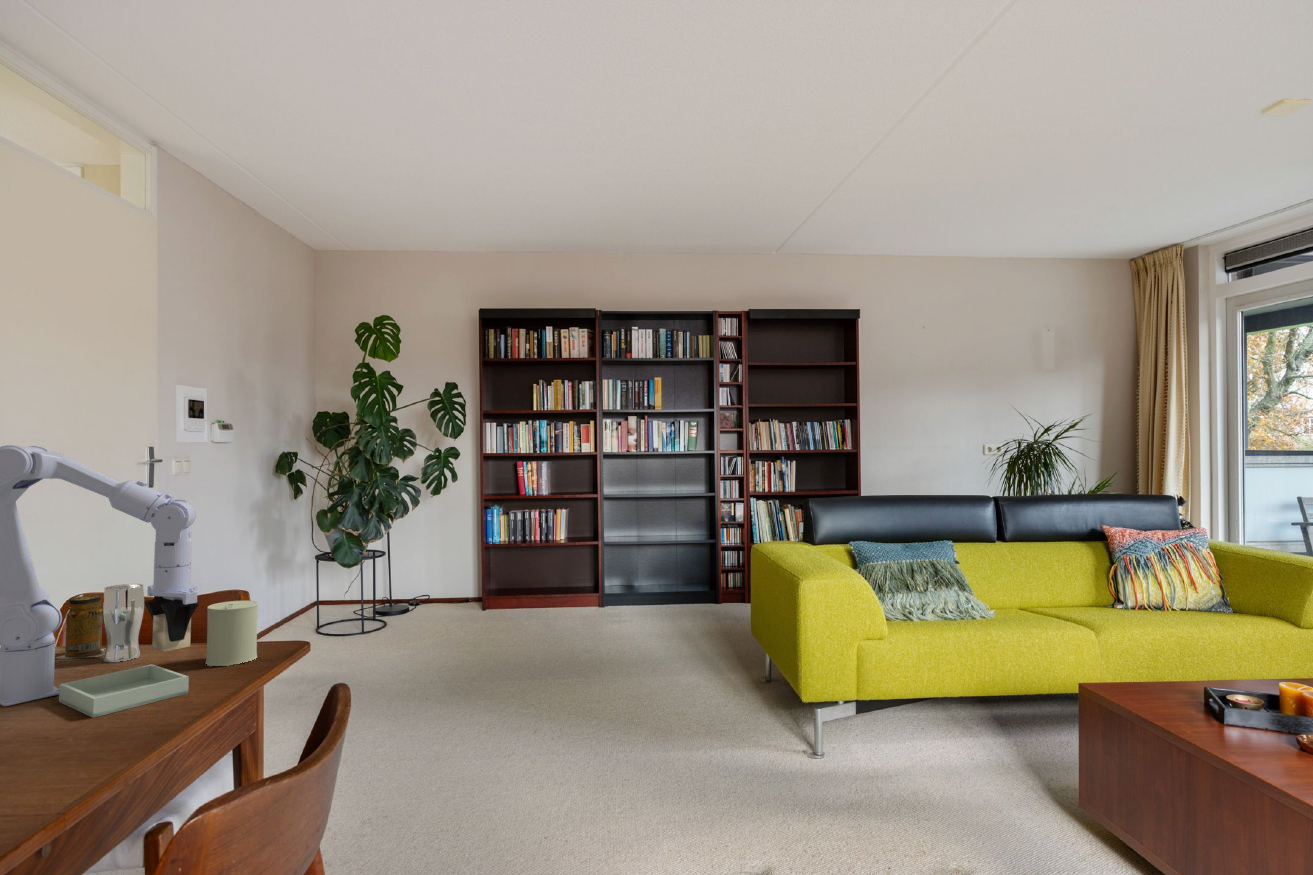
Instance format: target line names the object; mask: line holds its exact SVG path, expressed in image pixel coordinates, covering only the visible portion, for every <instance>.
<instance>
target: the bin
mask: <svg viewBox="0 0 1313 875" xmlns="http://www.w3.org/2000/svg"><path fill="white" fill-rule="evenodd" d="M189 680H190V676H189V675H185V674H182V673H179V672H176V671H174V670H170V669H169V668H168V669H167V668H164V667H161V666H159V665H155V664H148V665H142V666H138V667H137V666H136V667H132V668H128V669H124V670H120V671H119V670H118V671H115V672H110V673H106V674H105V673H104V674H101V675H100V674H99V675H96V676H91V677H87V678H81V679H78V680H71V681H68V682H64V683H63V682H62V683H60V684H58V685H59V686H58V687H59V688H58V689H59V694H58V702H59V703H60V704H63V705H65V706H67V707H69V708H71V709H73V710H76V711H78V712H80V713H82V714H84V715H86V716H88V717H91V718H97V717H102V716H106V715H111V714H114V713H117V712H122V711H126V710H130V709H133V708H137V707H141V706H145V705H149V704H153V703H156V702H161V701H164V700H168V699H174V698H177V697H180V696H183V695H185V696H186V695H188V694H189V690H190V689H189V688H190V687H189V685H190V684H189V683H190V681H189Z"/></svg>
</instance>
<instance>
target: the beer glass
mask: <svg viewBox="0 0 1313 875" xmlns="http://www.w3.org/2000/svg"><path fill="white" fill-rule="evenodd" d="M144 593H145V590H144V584H141V583H125V584H117V585H116V584H115V585H110V586H106V587H104V593H103V599H102V611H103V612H102V623H103V626H104V627H103V628H104V632H105V637H106V648H105V649H106V652H105V655H103V662H105V663H121V662H120V661H123V662H128V661H127V660H129V661H132V660H131V659H133V660H135V659H134V658H136V659H138V658H140V657H141V652H140V646H139V635H140V629H141V626H142V621H143V618H144V613H145V605H144V601H145V594H144ZM139 656H140V657H139Z"/></svg>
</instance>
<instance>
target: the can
mask: <svg viewBox="0 0 1313 875" xmlns="http://www.w3.org/2000/svg"><path fill="white" fill-rule="evenodd" d="M258 607H259V602H258V601H255V600H233V601H232V600H231V601H223V602H218V603H217V602H216V603H213V604H210V605H208V606H207V608H206V610H207V623H206V624H207V629H206V630H207V632H206V633H207V634H206V635H207V636H206V657H205V658H206V660H205V665H206V664H207V665H206V666H208V667H212V666H227V667H230V666H229V665H233V664H240V663H242V662H243V663H244V662H248V661H251V662H253V661H252V660H254V659H255V660H257V659H258V654H257V653H258V651H257V650H258V649H257V648H258V646H257V644H258V643H257V642H258V640H257V638H258V611H259V610H258V609H259V608H258ZM256 658H257V659H256ZM255 660H254V661H255Z"/></svg>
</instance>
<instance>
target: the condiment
mask: <svg viewBox="0 0 1313 875" xmlns="http://www.w3.org/2000/svg"><path fill="white" fill-rule="evenodd" d="M101 600H102V598H101V597H100V596H97V595H95V596H94V595H90V596H88V595H87V596H80V597H73V598H71V599H69V606H68V611H67V613H66V618H65V647H64V649H65V650H64V652H65V654H63V655H59V656H57V657H55V659H63V660H65V659H78V658H79V659H80V658H81V659H84V658H85V659H86V658H98V657H102V656H105V652H106V651H104V649H105V650H106V648H102V647H103V646H102V644H103V640H102V638H103V608H102V607H101V606H102V603H101ZM101 650H102V651H103V652H102V651H101Z"/></svg>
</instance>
